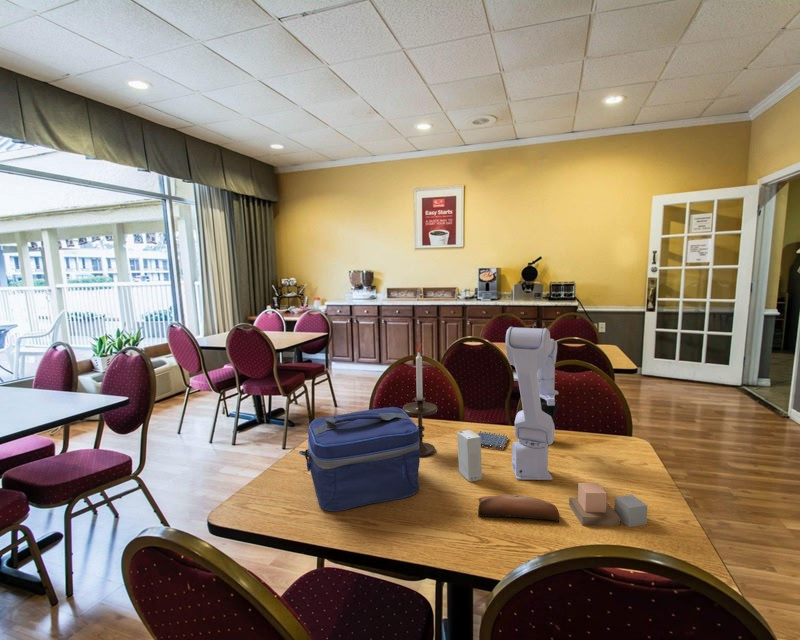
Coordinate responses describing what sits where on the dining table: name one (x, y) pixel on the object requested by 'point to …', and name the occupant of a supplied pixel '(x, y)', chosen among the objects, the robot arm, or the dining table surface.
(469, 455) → the skincare box
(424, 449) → the candlestick
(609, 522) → the walnut slab
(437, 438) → the dining table surface
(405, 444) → the lunch bag
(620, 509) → the grey cube
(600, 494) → the terracotta cube
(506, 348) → the robot arm
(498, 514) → the sunglasses case
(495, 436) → the woven mat
